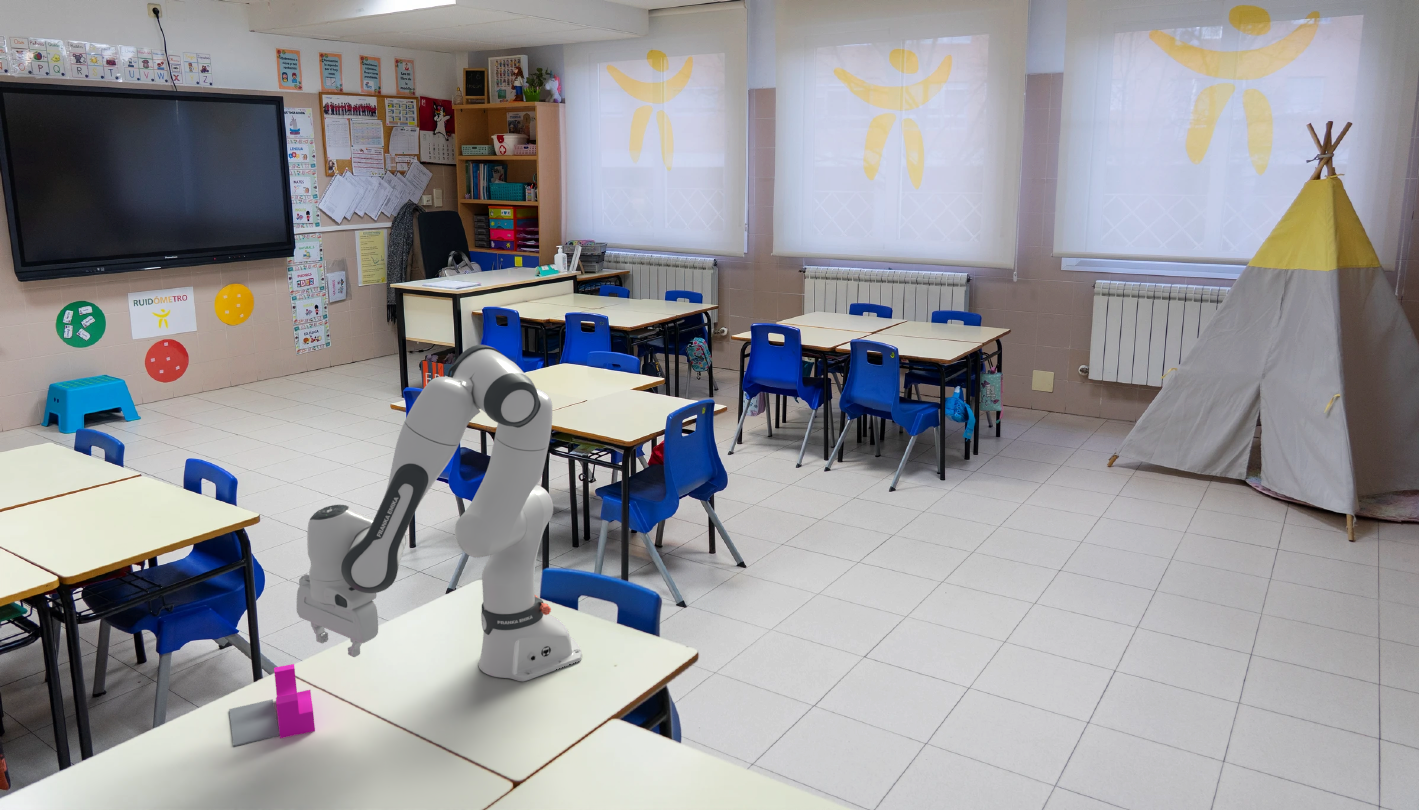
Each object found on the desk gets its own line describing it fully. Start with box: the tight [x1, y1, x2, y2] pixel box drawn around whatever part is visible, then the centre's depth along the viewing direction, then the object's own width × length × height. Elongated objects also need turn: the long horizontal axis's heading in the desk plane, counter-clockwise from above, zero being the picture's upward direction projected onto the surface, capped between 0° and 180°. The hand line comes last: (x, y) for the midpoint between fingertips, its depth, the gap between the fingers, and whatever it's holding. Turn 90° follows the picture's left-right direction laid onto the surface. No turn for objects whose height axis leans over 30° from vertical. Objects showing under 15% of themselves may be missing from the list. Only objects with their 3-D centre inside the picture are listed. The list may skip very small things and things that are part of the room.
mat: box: [228, 699, 280, 748], centre depth 191 cm, size 8×14×1 cm, turn 28°
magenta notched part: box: [273, 663, 316, 739], centre depth 193 cm, size 15×6×8 cm, turn 25°
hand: (338, 648), depth 196 cm, fingers open, 8 cm apart
